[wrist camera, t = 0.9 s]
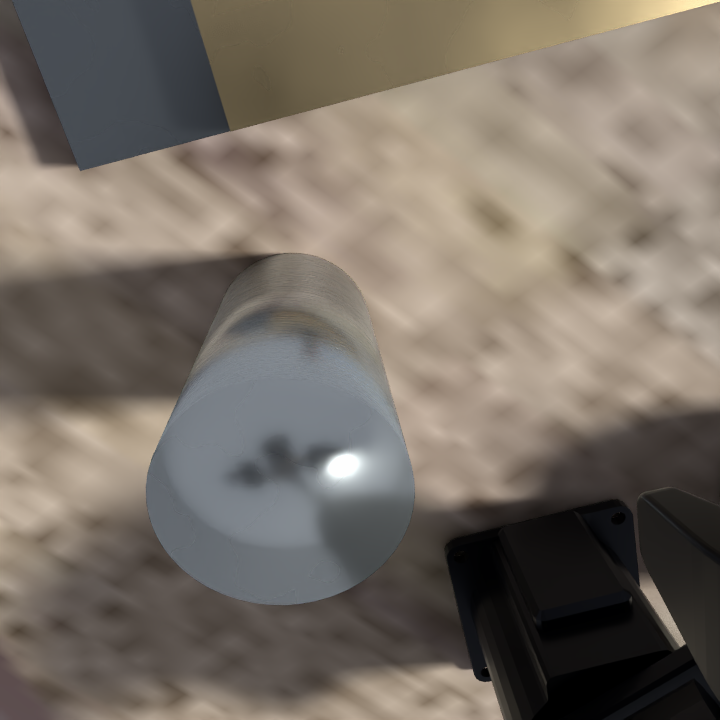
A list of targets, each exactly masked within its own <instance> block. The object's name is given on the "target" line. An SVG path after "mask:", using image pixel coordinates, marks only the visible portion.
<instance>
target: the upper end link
mask: <svg viewBox="0 0 720 720" xmlns="http://www.w3.org/2000/svg"><path fill="white" fill-rule="evenodd" d="M719 1H720V0H191V3H192V7H193V10H194V13H195V17H196V20H197V23H198V26H199V30H200V33H201V36H202V39H203V43H204V46H205V49H206V53H207V56H208V59H209V62H210V66H211V69H212V72H213V76H214V79H215V82H216V85H217V89H218V92H219V95H220V98H221V102H222V105H223V108H224V112H225V115H226V118H227V121H228V125H229V128H230V131H234V130H238V129H242V128H246V127H249V126H253V125H257V124H261V123H264V122H268V121H272V120H276V119H279V118H283V117H287V116H291V115H294V114H298V113H302V112H306V111H309V110H313V109H317V108H321V107H324V106H328V105H332V104H336V103H339V102H343V101H347V100H351V99H355V98H358V97H362V96H366V95H370V94H373V93H377V92H381V91H385V90H388V89H392V88H396V87H400V86H403V85H407V84H411V83H415V82H418V81H422V80H426V79H430V78H433V77H437V76H441V75H445V74H448V73H452V72H456V71H460V70H463V69H467V68H471V67H475V66H479V65H482V64H486V63H490V62H494V61H497V60H501V59H505V58H509V57H512V56H516V55H520V54H524V53H527V52H531V51H535V50H539V49H542V48H546V47H550V46H554V45H557V44H561V43H565V42H569V41H572V40H576V39H580V38H584V37H587V36H591V35H595V34H599V33H603V32H606V31H610V30H614V29H618V28H621V27H625V26H629V25H633V24H636V23H640V22H644V21H648V20H651V19H655V18H659V17H663V16H666V15H670V14H674V13H678V12H681V11H685V10H689V9H693V8H696V7H700V6H704V5H708V4H711V3H715V2H719Z"/></svg>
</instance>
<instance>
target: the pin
mask: <svg viewBox="0 0 720 720" xmlns="http://www.w3.org/2000/svg"><path fill="white" fill-rule="evenodd" d="M414 498H415V487H414V477H413V471H412V466H411V462H410V459H409V455H408V452H407V448H406V444H405V441H404V437H403V434H402V430H401V426H400V423H399V419H398V416H397V412H396V408H395V405H394V401H393V398H392V394H391V390H390V387H389V383H388V380H387V376H386V372H385V369H384V365H383V362H382V358H381V354H380V351H379V347H378V344H377V340H376V336H375V333H374V329H373V325H372V322H371V318H370V315H369V311H368V308H367V305H366V302H365V299H364V297H363V295H362V293H361V291H360V289H359V288H358V286H357V285H356V283H355V282H354V281H353V280H352V279H351V278H350V276H349V275H347V274H346V273H345V272H344V271H343V270H342V269H340V268H339V267H337V266H336V265H334V264H333V263H331V262H329V261H327V260H325V259H322V258H319V257H316V256H313V255H308V254H300V253H286V254H279V255H274V256H270V257H267V258H264V259H262V260H260V261H258V262H256V263H254V264H252V265H251V266H249V267H248V268H246V269H245V270H244V271H243V272H242V273H241V274H239V275H238V276H237V278H236V279H235V280H234V281H233V282H232V284H231V285H230V287H229V288H228V290H227V291H226V294H225V296H224V298H223V300H222V302H221V305H220V307H219V309H218V311H217V314H216V316H215V318H214V320H213V323H212V325H211V327H210V329H209V331H208V334H207V336H206V338H205V340H204V343H203V345H202V347H201V349H200V352H199V354H198V356H197V358H196V361H195V363H194V365H193V367H192V369H191V372H190V374H189V376H188V378H187V381H186V383H185V385H184V387H183V390H182V392H181V394H180V396H179V399H178V401H177V403H176V405H175V407H174V410H173V412H172V414H171V416H170V419H169V421H168V423H167V425H166V428H165V430H164V432H163V434H162V436H161V439H160V441H159V443H158V445H157V448H156V450H155V452H154V454H153V457H152V459H151V463H150V467H149V470H148V475H147V483H146V502H147V508H148V513H149V518H150V521H151V523H152V526H153V529H154V532H155V534H156V536H157V537H158V539H159V541H160V543H161V545H162V546H163V548H164V549H165V550H166V552H167V553H168V554H169V556H170V557H171V558H172V559H173V560H174V561H175V562H176V564H177V565H178V566H179V567H180V568H181V569H182V570H184V571H185V572H186V573H187V574H189V575H190V576H191V577H192V578H194V579H195V580H197V581H198V582H200V583H202V584H203V585H205V586H206V587H208V588H210V589H212V590H215V591H217V592H219V593H221V594H223V595H226V596H229V597H232V598H235V599H238V600H243V601H247V602H252V603H259V604H267V605H292V604H303V603H308V602H313V601H318V600H321V599H325V598H328V597H331V596H334V595H336V594H339V593H341V592H344V591H346V590H348V589H350V588H352V587H353V586H355V585H357V584H359V583H361V582H362V581H363V580H365V579H366V578H368V577H369V576H370V575H372V574H373V573H374V572H375V571H377V570H378V569H379V568H380V567H381V566H382V565H383V564H384V563H385V562H386V561H387V560H388V558H389V557H390V556H391V555H392V554H393V553H394V551H395V550H396V548H397V547H398V545H399V543H400V542H401V540H402V539H403V537H404V534H405V532H406V530H407V528H408V526H409V522H410V519H411V515H412V512H413V505H414Z"/></svg>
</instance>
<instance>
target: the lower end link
mask: <svg viewBox="0 0 720 720" xmlns="http://www.w3.org/2000/svg"><path fill="white" fill-rule="evenodd" d="M12 2H13V4H14V7H15V9H16V12H17V14H18V17H19V19H20V22H21V24H22V27H23V29H24V32H25V34H26V37H27V39H28V42H29V44H30V47H31V49H32V52H33V54H34V57H35V59H36V62H37V64H38V67H39V69H40V72H41V74H42V77H43V79H44V82H45V84H46V87H47V89H48V92H49V94H50V97H51V99H52V102H53V104H54V107H55V109H56V112H57V114H58V117H59V119H60V122H61V124H62V127H63V129H64V132H65V134H66V137H67V139H68V142H69V144H70V147H71V149H72V152H73V154H74V157H75V159H76V162H77V164H78V167H79V169H80V171H82V170H85V169H89V168H93V167H97V166H101V165H104V164H108V163H112V162H116V161H119V160H123V159H127V158H131V157H134V156H138V155H142V154H146V153H149V152H153V151H157V150H161V149H164V148H168V147H172V146H176V145H179V144H183V143H187V142H191V141H194V140H198V139H202V138H206V137H209V136H213V135H217V134H221V133H224V132H228V131H230V128H229V125H228V121H227V118H226V115H225V112H224V108H223V105H222V102H221V98H220V95H219V92H218V89H217V85H216V82H215V79H214V76H213V72H212V69H211V66H210V62H209V59H208V56H207V53H206V49H205V46H204V43H203V39H202V36H201V33H200V30H199V26H198V23H197V20H196V17H195V13H194V10H193V7H192V3H191V0H12Z"/></svg>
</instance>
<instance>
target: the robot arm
mask: <svg viewBox="0 0 720 720" xmlns="http://www.w3.org/2000/svg"><path fill="white" fill-rule="evenodd" d="M617 512H620V514H619V515H618V516H616V517H614V518H611V517H612V516H613V515H614V514H615V513H617ZM637 515H638V528H639V542H640V550H641V555H642V558H643V561H644V564H645V566H646V568H647V570H648V572H649V574H650V576H651V578H652V580H653V582H654V583H655V585H656V587H657V589H658V591H659V593H660V595H661V597H662V599H663V601H664V602H665V604H666V606H667V608H668V610H669V612H670V614H671V616H672V618H673V620H674V622H675V623H676V625H677V627H678V629H679V631H680V633H681V635H682V637H683V639H684V641H685V642H686V644H685V645H683V646H682V647H680V646H679V645H678V643H677V642H676V640H675V639H674V638H673V636H672V635H671V633H670V632H669V630H668V629H667V627H666V626H665V624H664V623H663V621H662V620H661V618H660V617H659V615H658V614H657V612H656V611H655V609H654V608H653V607H652V605H651V604H650V602H649V601H648V599H647V598H646V596H645V595H644V593H643V592H642V590H641V589H640V583H639V573H638V563H637V553H636V543H635V533H634V523H633V514H632V512H631V510H630V509H629V507H628V506H627V505H626V504H625V503H624V502H623V501H621V500H618V499H616V500H609V501H605V502H601V503H597V504H593V505H589V506H585V507H581V508H577V509H573V510H569V511H565V512H561V513H557V514H552V515H548V516H544V517H540V518H536V519H532V520H528V521H524V522H520V523H516V524H512V525H508V526H504V527H500V528H496V529H492V530H488V531H484V532H480V533H476V534H471V535H467V536H463V537H459V538H456V539H453V540H451V541H450V542H449V543H447V545H446V547H445V557H446V561H447V565H448V570H449V574H450V578H451V582H452V586H453V590H454V594H455V599H456V603H457V607H458V611H459V615H460V619H461V623H462V628H463V632H464V636H465V640H466V644H467V648H468V652H469V656H470V661H471V665H472V668H473V672H474V675H475V677H476V679H478V680H479V681H483V682H489V681H492V683H493V687H494V690H495V693H496V696H497V699H498V703H499V706H500V709H501V712H502V716H503V719H504V720H720V505H717V504H715V503H712V502H710V501H707V500H705V499H703V498H700V497H698V496H695V495H693V494H690V493H688V492H685V491H683V490H680V489H678V488H675V487H665V488H660V489H656V490H652V491H647V492H643V493H641V494H640V495H639V497H638V500H637ZM459 551H464V554H462V555H460V556H456V555H455V554H456V553H457V552H459ZM485 667H487V668H485Z"/></svg>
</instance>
